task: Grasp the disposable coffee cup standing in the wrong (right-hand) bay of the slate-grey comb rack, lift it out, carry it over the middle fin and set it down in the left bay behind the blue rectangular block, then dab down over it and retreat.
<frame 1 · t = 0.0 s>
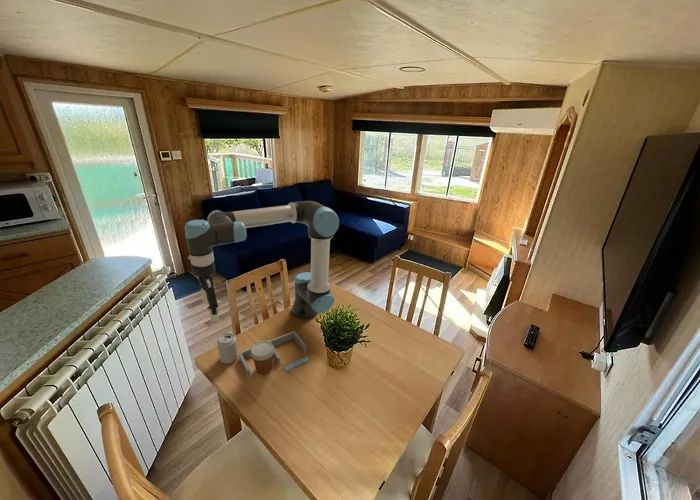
hand: (210, 310, 109), 28 cm above the table, fingers open, 13 cm apart
blue rectangular block: (296, 364, 124), on the table
can: (229, 358, 124), on the table
disposable coffee cup: (264, 369, 120), on the table
comb rack: (274, 357, 126), on the table
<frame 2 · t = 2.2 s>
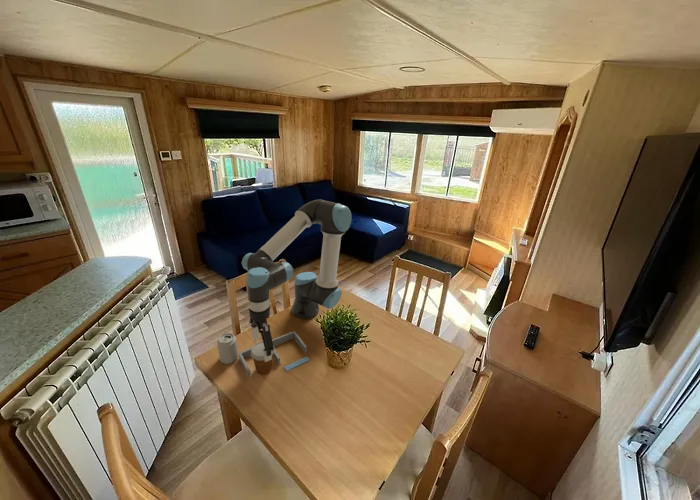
hand: (261, 349, 115), 12 cm above the table, fingers open, 13 cm apart
nothing on the table moved.
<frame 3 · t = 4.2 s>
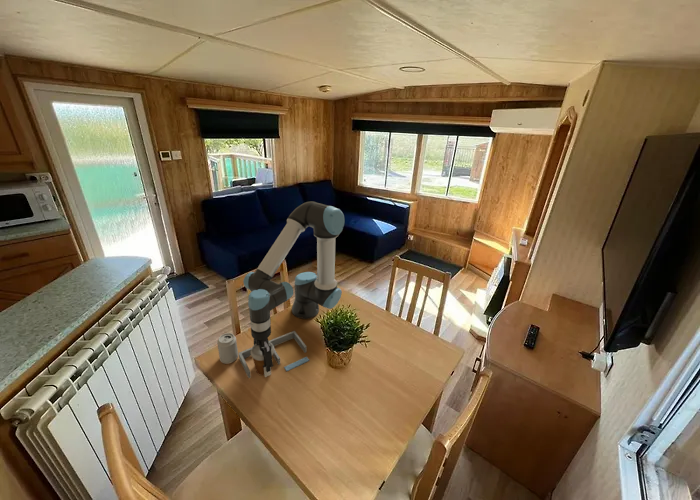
hand: (263, 368, 119), 1 cm above the table, fingers closed on disposable coffee cup, 8 cm apart
disposable coffee cup: (264, 369, 120), on the table, touching gripper
everything else where it was.
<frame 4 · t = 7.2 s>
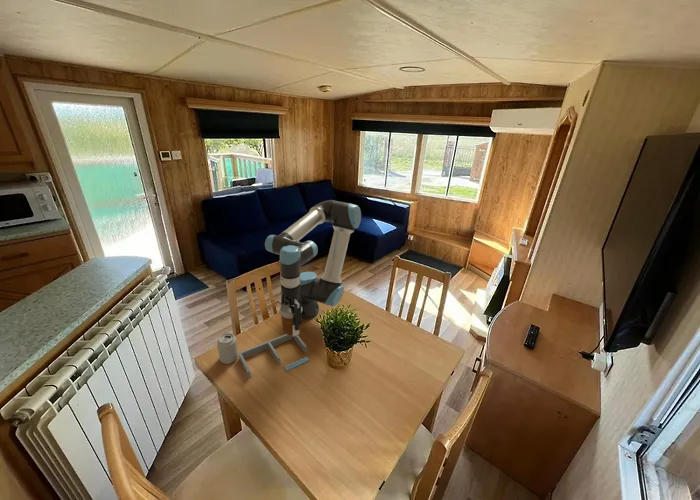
hand: (291, 328, 120), 16 cm above the table, fingers closed on disposable coffee cup, 8 cm apart
disposable coffee cup: (291, 330, 121), point 15 cm above the table, touching gripper
everything else where it was.
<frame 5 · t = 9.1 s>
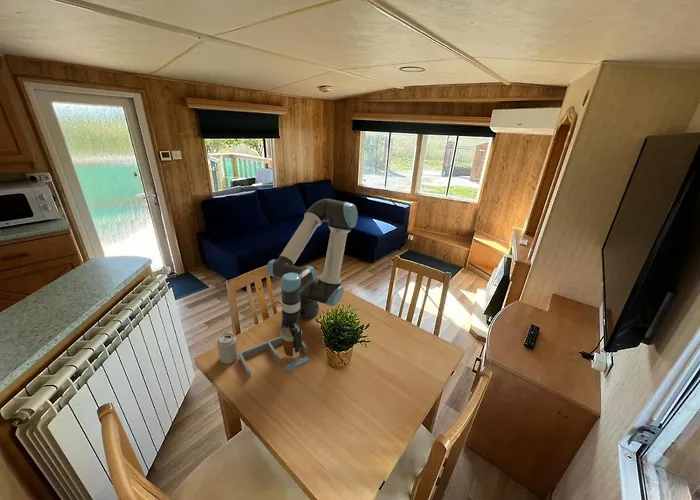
hand: (291, 349, 125), 4 cm above the table, fingers closed on disposable coffee cup, 8 cm apart
disposable coffee cup: (291, 351, 126), point 3 cm above the table, touching gripper
everything else where it was.
when the fingers open (2 cm above the table, at t = 10.5 s): disposable coffee cup drops 1 cm, on the table.
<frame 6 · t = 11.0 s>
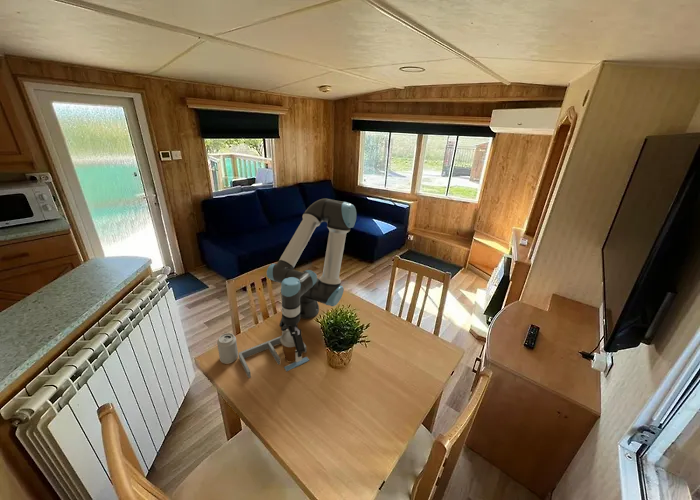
hand: (291, 350, 126), 4 cm above the table, fingers open, 13 cm apart
disposable coffee cup: (291, 356, 127), on the table
everything else where it was.
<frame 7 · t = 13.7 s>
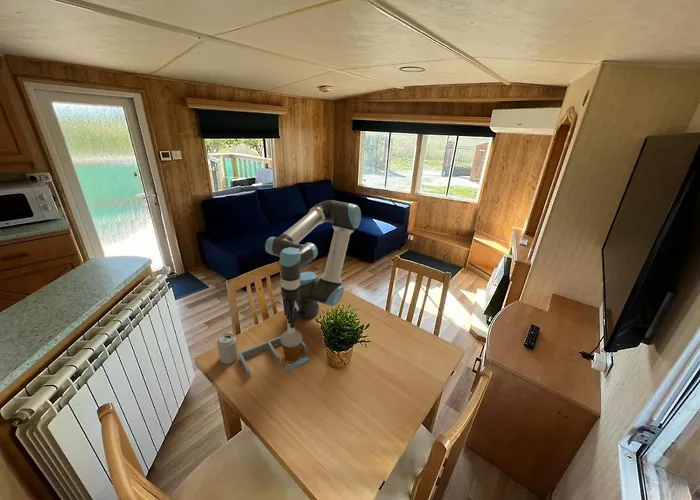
hand: (291, 332, 121), 15 cm above the table, fingers closed
nothing on the table moved.
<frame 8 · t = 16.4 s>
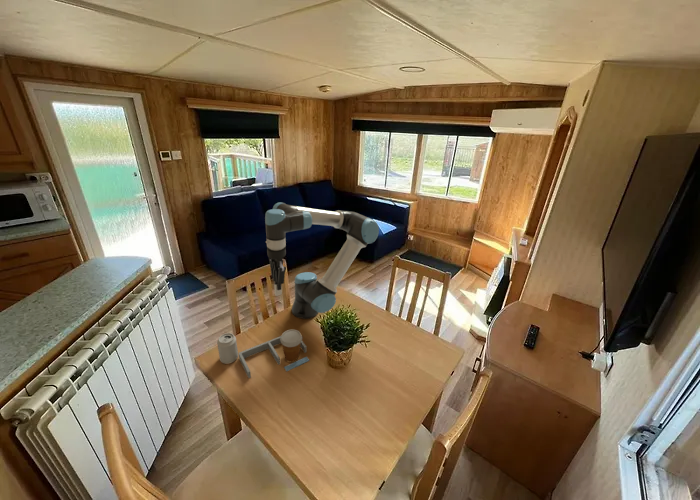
hand: (278, 294, 125), 26 cm above the table, fingers closed
nothing on the table moved.
at the end: disposable coffee cup inside the target area (0.7 cm from its centre), on the table; disposable coffee cup tilted 0°; the gripper is holding nothing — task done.
